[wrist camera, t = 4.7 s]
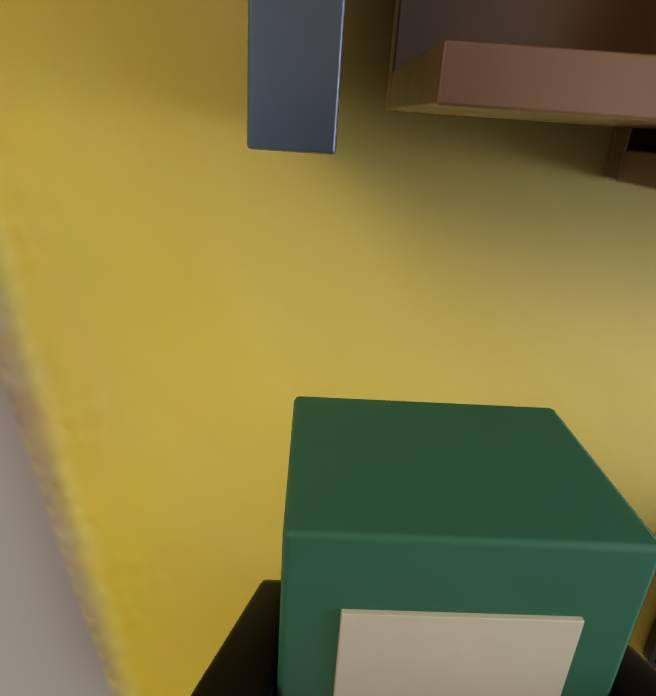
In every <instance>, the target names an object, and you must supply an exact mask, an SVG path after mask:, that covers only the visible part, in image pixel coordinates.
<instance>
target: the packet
mask: <svg viewBox="0 0 656 696" xmlns="http://www.w3.org/2000/svg"><path fill="white" fill-rule="evenodd" d="M655 570H656V537H655V536H654V535H653V534H652V532H651V531H650V530H649V529H648V527H647V526H646V525H645V524H644V522H643V521H642V520H641V519H640V517H639V516H638V515H637V514H636V512H635V511H634V510H633V509H632V507H631V506H630V505H629V504H628V502H627V501H626V500H625V499H624V497H623V496H622V495H621V494H620V492H619V491H618V490H617V489H616V487H615V486H614V485H613V484H612V482H611V481H610V480H609V479H608V477H607V476H606V475H605V474H604V472H603V471H602V470H601V469H600V467H599V466H598V465H597V464H596V462H595V461H594V460H593V459H592V457H591V456H590V455H589V454H588V452H587V451H586V450H585V449H584V447H583V446H582V445H581V444H580V442H579V441H578V440H577V439H576V437H575V436H574V435H573V434H572V432H571V431H570V430H569V429H568V427H567V426H566V425H565V424H564V422H563V421H562V420H561V419H560V417H559V416H558V415H557V414H556V412H555V411H554V410H552V409H550V408H535V407H514V406H492V405H471V404H450V403H428V402H407V401H386V400H365V399H343V398H322V397H301V396H300V397H297V398H296V399H295V401H294V409H293V420H292V432H291V444H290V456H289V468H288V479H287V491H286V503H285V515H284V527H283V543H282V570H281V596H280V623H279V649H278V675H277V696H608V695H609V693H610V690H611V688H612V685H613V682H614V680H615V677H616V674H617V672H618V669H619V666H620V664H621V661H622V658H623V656H624V653H625V650H626V648H627V645H628V642H629V640H630V637H631V634H632V632H633V629H634V626H635V624H636V621H637V618H638V616H639V613H640V610H641V608H642V605H643V602H644V600H645V597H646V594H647V592H648V589H649V586H650V584H651V581H652V578H653V576H654V573H655Z"/></svg>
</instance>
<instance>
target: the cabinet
mask: <svg viewBox="0 0 656 696" xmlns="http://www.w3.org/2000/svg"><path fill="white" fill-rule="evenodd" d="M604 178H606V179H608V180H613V181H618V182H622V183H626V184H631V185H635V186H640V187H644V188H649V189H654V190H656V129H644V128H630V127H616V129H615V133H614V137H613V141H612V145H611V149H610V153H609V158H608V162H607V166H606V170H605V174H604Z"/></svg>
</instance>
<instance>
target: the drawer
mask: <svg viewBox="0 0 656 696" xmlns="http://www.w3.org/2000/svg"><path fill="white" fill-rule="evenodd" d="M345 3H346V0H248V91H247V146H248V148H250V149H256V150H271V151H286V152H301V153H316V154H331V155H332V154H335V151H336V141H337V126H338V110H339V95H340V80H341V64H342V49H343V34H344V19H345ZM386 110H387V111H401V112H415V113H429V114H444V115H458V116H472V117H487V118H501V119H515V120H530V121H544V122H558V123H573V124H587V125H601V126H615V127H630V128H644V129H656V0H396V2H395V13H394V23H393V34H392V45H391V55H390V66H389V76H388V87H387V97H386Z"/></svg>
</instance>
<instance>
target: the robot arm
mask: <svg viewBox="0 0 656 696" xmlns="http://www.w3.org/2000/svg"><path fill="white" fill-rule="evenodd" d="M280 596H281V580H264V581H262V583H261V584H260V585H259V587H258V588H257V590H256V592H255V593H254V595H253V596H252V598H251V600H250V601H249V603H248V604H247V606H246V608H245V609H244V611H243V612H242V614H241V616H240V617H239V619H238V620H237V622H236V624H235V625H234V627H233V629H232V630H231V632H230V633H229V635H228V637H227V638H226V640H225V641H224V643H223V645H222V646H221V648H220V649H219V651H218V653H217V654H216V656H215V657H214V659H213V661H212V662H211V664H210V665H209V667H208V669H207V670H206V672H205V673H204V675H203V677H202V678H201V680H200V681H199V683H198V685H197V686H196V688H195V689H194V691H193V693H192V694H191V696H277V675H278V649H279V623H280ZM643 655H644V657H645V659H646V660H645V659H644V658H643V657H642V656H641V655H639V654H638V653H637V652H636V651H635V650H634V649H633V648H632V647H630V646H629V645H627V648H626V650H625V653H624V656H623V658H622V661H621V664H620V666H619V669H618V672H617V674H616V677H615V680H614V682H613V685H612V688H611V690H610V693H609V695H608V696H656V619H655V621H654V624H653V626H652V629H651V631H650V634H649V636H648V639H647V641H646V644H645V647H644V649H643Z"/></svg>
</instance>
